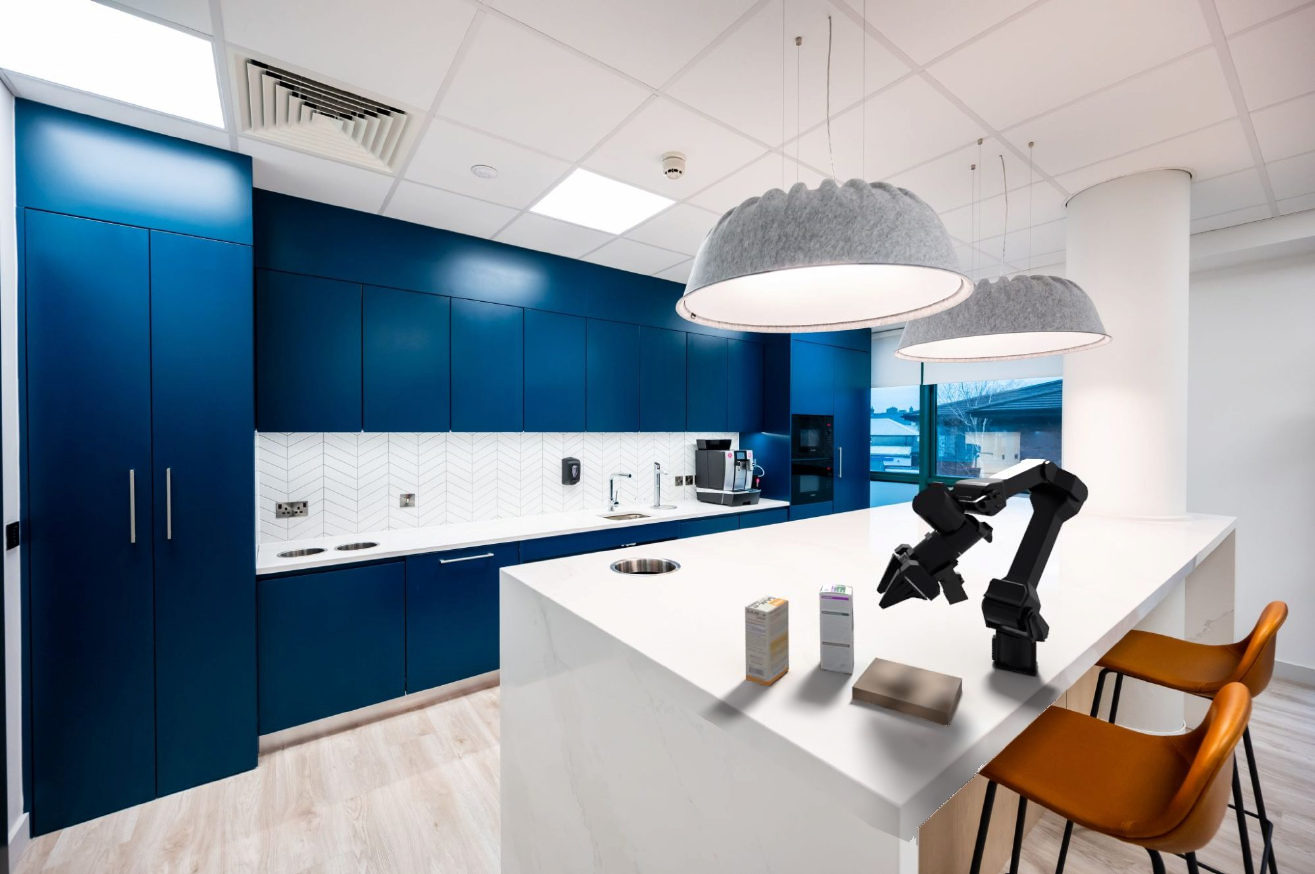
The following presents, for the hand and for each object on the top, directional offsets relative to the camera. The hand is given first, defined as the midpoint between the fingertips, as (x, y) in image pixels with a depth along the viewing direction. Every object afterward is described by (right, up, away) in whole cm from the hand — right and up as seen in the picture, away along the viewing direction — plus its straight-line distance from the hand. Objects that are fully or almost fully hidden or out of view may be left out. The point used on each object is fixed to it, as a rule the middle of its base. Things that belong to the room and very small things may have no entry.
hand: (879, 599), depth 98 cm
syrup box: (-7, -13, +3) cm, 15 cm away
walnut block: (+1, -14, -8) cm, 16 cm away
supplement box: (-20, -14, -1) cm, 25 cm away
